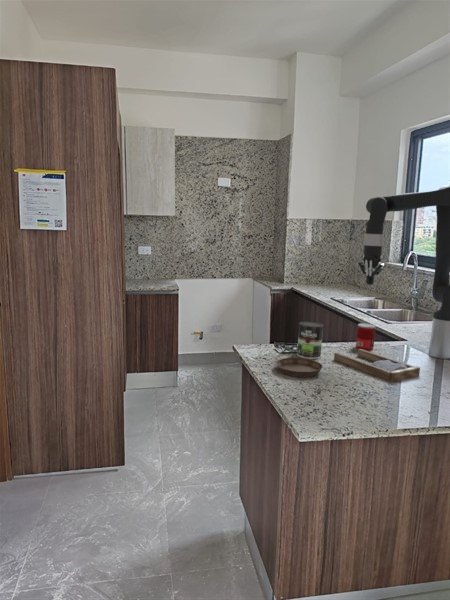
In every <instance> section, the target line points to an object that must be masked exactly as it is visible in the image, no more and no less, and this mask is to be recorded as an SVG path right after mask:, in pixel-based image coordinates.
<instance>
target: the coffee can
mask: <svg viewBox="0 0 450 600" xmlns="http://www.w3.org/2000/svg"><path fill="white" fill-rule="evenodd" d="M298 325H299V327H298V335H297V336H298V337H297V351H296V356H298V358H304V359H310V360H318V359H321V354H322V345H323V344H322V343H323V331H324V326H325V325H324V324H323V323H321V322H317V321H316V322H315V321H300V322H299V323H298Z"/></svg>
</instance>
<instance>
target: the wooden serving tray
mask: <svg viewBox="0 0 450 600" xmlns="http://www.w3.org/2000/svg"><path fill="white" fill-rule="evenodd" d="M357 350H358V351H357V357H360V358H362V359H364V360H365V359H366V360H369V361H371V362H373V363H374V362H376V361H380V360H381V361H382V360H383V361H384V360H390V361H391V362H393V363H399V364H404V365H405V366H406V367H407V368H406V369H401V370H396V371H391V372H390V371H387V370H385V369H382V368H379V367H376V366H373V364H371V363H369V362H368V363H367V362H365V361H362V360H359V359H357V358H353V357H351V356H349V355H345V354H342V353H339V352H334V355H333V357H334V358H333V360H334V361H336V362H339V363H341V364H344V365H347V366H350V367H352V368H355V369H358V370H360V371H363V372H366V373H368V374H370V375H374V376H375V377H379V378H381V379H384V380H387V381H389V382H391V383H393V382H397V381H402V380H405V379H406V380H407V379H411V378H414V377H419V376H420V371H421V367H420V366H418V365H417V366H414V365H411V364H408V363H406V362H402V361H399V360H396V359H393V358H389V357H387V356H384V355H381V354H377V353H374V352H372V351H370V350H363V349H359V348H357Z"/></svg>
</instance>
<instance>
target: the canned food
mask: <svg viewBox="0 0 450 600" xmlns="http://www.w3.org/2000/svg"><path fill="white" fill-rule="evenodd" d="M375 335H376V325H375V324H370V323H363V322H362V323H358V324H357V332H356V338H355V339H356V340H355V347H356V348H357V349H363V350H366V351H372V350H374V348H375V347H374V345H375V338H376V337H375Z"/></svg>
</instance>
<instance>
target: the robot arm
mask: <svg viewBox="0 0 450 600" xmlns="http://www.w3.org/2000/svg"><path fill="white" fill-rule="evenodd" d="M428 207H435V209H436V210H435V211H436V231H435V232H436V233H435V234H436V236H435V264H434V276H433V283H432V291H431V293H432V298H433V299H434V301H436V302H437V303H441V306H440V308H439V310H435V311H434V312H433V314H432V315H433V316H432V323H431V324H432V325H431V332H430V339H429V340H430V341H429V347H428V348H429V349H428V356H429V357H432V358H436V359H443V360H447V359H450V184H447V185H446V184H445V185H442V186H441V187H439V189H437V190H431V191H430V190H429V191H419V192H408V193H407V192H406V193H399V194H398V193H397V194H394V195H391V196H389V195H388V196H376V197H371V198H370V199H368V200H367V202H366V205H365V209H366V211H367V212H368V213H369V219H368V221H367V222H366V226H365V236H364V241H363V242H364V243H363V253H362V255H363V257H362V260H361V261H359V262H358V266H359V268H360V270H361V272H362V273H363V274H364V275H366V285H370V286H372V285H374V282H375V276H378V275H379V274H380V273H381V272H382V271H383V269H384V268H385V266H386V265H385V263H382V259H381V256H382V255H383V254H382V252H383V242H384V238H383V236H384V235H383V234H384V223H385V221H386V216H387V213H388V212H389V213H391V212H403V211H410V210H415V209H422V208H423V209H424V208H428Z"/></svg>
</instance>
